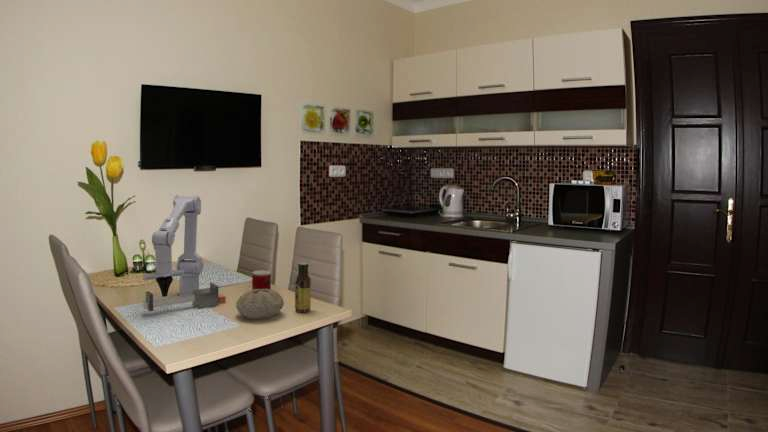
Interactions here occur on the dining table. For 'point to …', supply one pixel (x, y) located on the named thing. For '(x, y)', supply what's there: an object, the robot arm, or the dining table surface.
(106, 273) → the dining table surface
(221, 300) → the spacer
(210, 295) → the bearing block
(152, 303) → the shaft
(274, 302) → the decorative shell
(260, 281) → the canned food
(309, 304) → the sauce bottle
